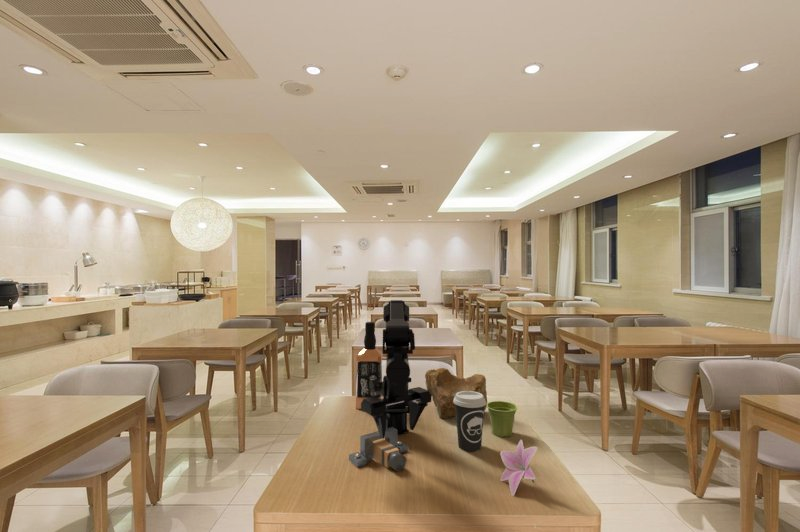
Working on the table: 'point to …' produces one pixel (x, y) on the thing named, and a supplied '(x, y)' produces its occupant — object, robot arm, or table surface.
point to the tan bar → (388, 454)
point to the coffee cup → (469, 419)
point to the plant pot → (502, 417)
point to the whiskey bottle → (368, 365)
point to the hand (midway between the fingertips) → (397, 433)
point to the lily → (517, 465)
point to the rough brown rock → (451, 389)
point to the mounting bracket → (367, 446)
